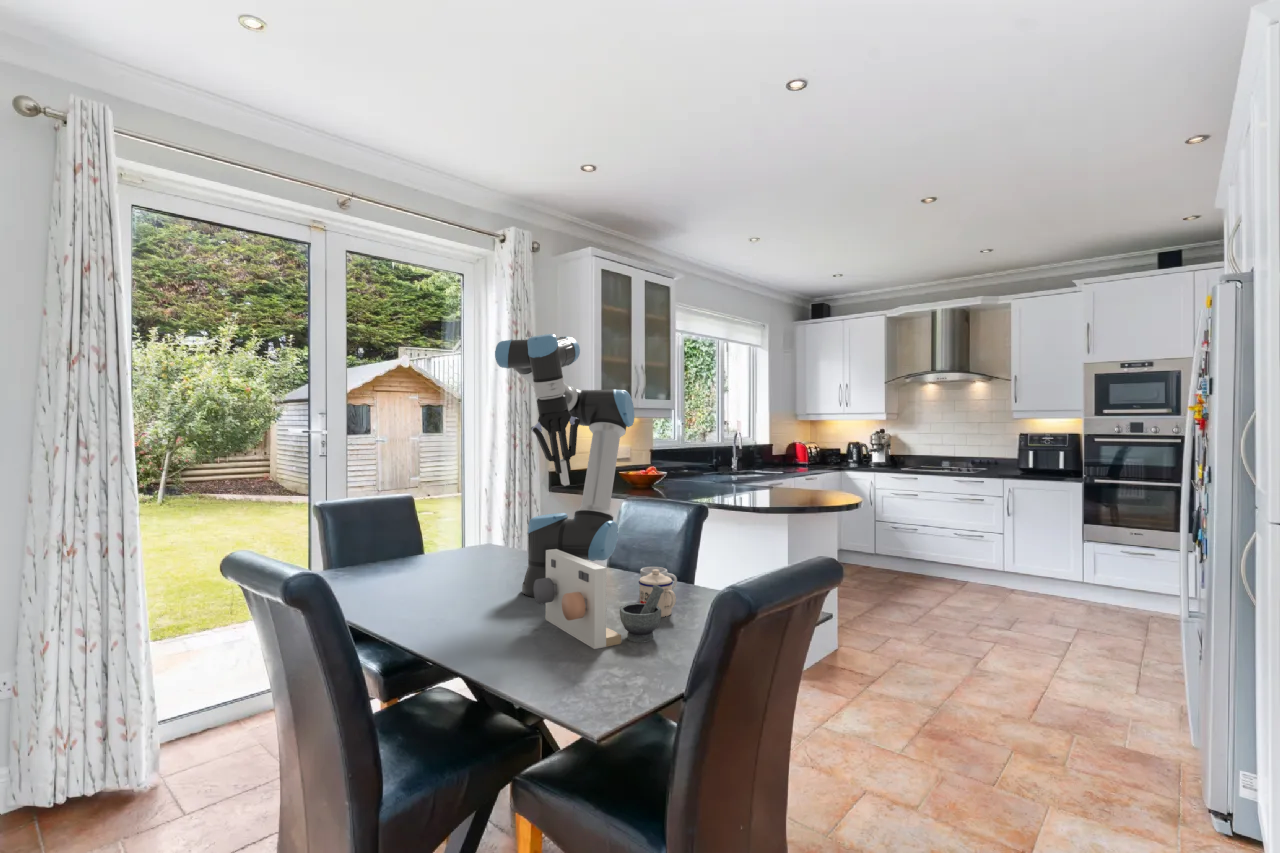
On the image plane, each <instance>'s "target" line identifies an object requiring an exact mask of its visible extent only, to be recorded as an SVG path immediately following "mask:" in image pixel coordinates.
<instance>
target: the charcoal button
mask: <svg viewBox="0 0 1280 853" xmlns="http://www.w3.org/2000/svg"><path fill="white" fill-rule="evenodd" d="M533 591H534V597H533V598H534V599H535V601H536V603H537V604H539V605H542V604H546V603H548V602H552V601H553V599H554V595H555V593H557V585H554V584H553V582H552V580H551V579H550V578H542V579H536V580H535V582H534V587H533Z"/></svg>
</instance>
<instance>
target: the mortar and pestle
mask: <svg viewBox="0 0 1280 853" xmlns="http://www.w3.org/2000/svg"><path fill="white" fill-rule="evenodd" d="M663 592H664V589H663V588H662V587H660V586H658V585H654V586H653V590H652V592H651V594H650V596H649V598H648V600H647V602H646V603H645V604H642V603H640V602H638V603H631V604H625V605H623V606H621V607H620V608H619V618H620V622H621V623H622V625H623V628H624V629H625V630H626V631H627V635H626V638H627V639H628V641H631V642H634V643H646V642H651V641H652V640H653V639H654V633H653V632H654V631H655V630H656V629H657V628H658V627H659V625H660V623H661V619H662V617H661V609H660V608H659V607H658V606H657V604H658V602H659V599H660V596H661V594H662V593H663Z"/></svg>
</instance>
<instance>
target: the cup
mask: <svg viewBox="0 0 1280 853" xmlns="http://www.w3.org/2000/svg"><path fill="white" fill-rule="evenodd" d="M654 569H658V570H659V573H661V574H663V575H664V576H667V577H670V578H671V579H672V580H673V584H672V591H673V590H674V589H675V588H676V587H677V585H678V578H677V576H676V575H675V574H673V573H670V572H668V569H667V568H664V567H662V566H661V567H660V566H646V567H642V568H640V570H639V572H640V578H641V577H644V576H647V575H648V574H650V573H652V570H654Z"/></svg>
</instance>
